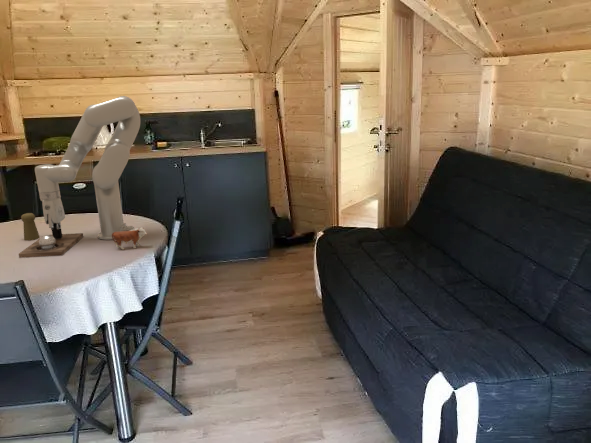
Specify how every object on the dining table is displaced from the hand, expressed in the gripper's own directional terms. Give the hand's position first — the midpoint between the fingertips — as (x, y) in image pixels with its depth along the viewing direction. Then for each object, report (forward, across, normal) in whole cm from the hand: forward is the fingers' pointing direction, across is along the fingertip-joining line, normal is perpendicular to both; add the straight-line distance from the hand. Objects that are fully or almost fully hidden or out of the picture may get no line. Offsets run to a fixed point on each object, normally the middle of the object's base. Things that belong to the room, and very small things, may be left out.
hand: (58, 238), depth 203 cm
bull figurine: (+3, -13, -32) cm, 35 cm away
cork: (+2, +9, +14) cm, 17 cm away
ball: (-1, -9, +1) cm, 9 cm away
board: (+2, -5, 0) cm, 5 cm away
